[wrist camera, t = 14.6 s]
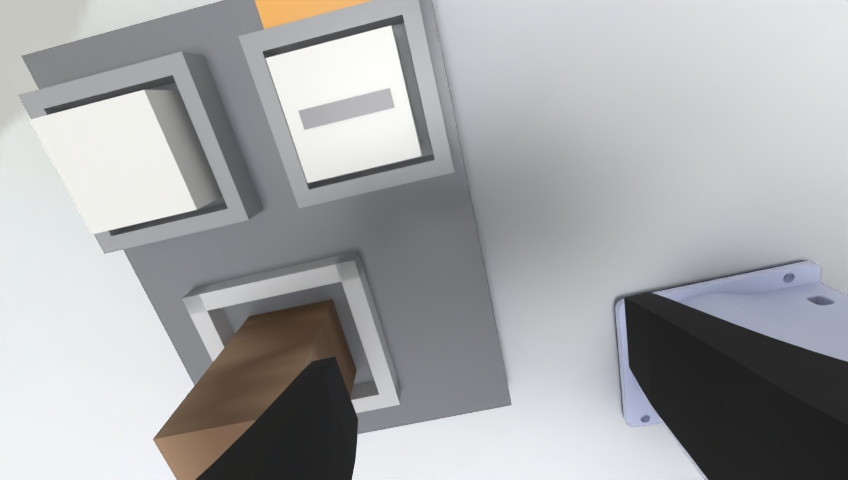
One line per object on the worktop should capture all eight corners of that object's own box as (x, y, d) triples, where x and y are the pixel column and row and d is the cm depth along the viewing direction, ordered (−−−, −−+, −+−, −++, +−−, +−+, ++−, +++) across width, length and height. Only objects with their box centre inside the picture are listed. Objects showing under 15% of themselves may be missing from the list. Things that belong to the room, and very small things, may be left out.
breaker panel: (420, -40, 15) (420, -88, 11) (505, 384, 22) (524, 449, 18) (56, 59, 16) (-62, 47, 12) (244, 435, 23) (207, 506, 19)
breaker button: (395, 36, 14) (390, 24, 12) (421, 147, 16) (421, 156, 13) (290, 64, 15) (264, 57, 12) (324, 170, 16) (306, 183, 14)
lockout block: (332, 299, 18) (282, 415, 12) (356, 370, 19) (324, 511, 13) (249, 316, 18) (153, 439, 12) (278, 385, 20) (207, 530, 13)
